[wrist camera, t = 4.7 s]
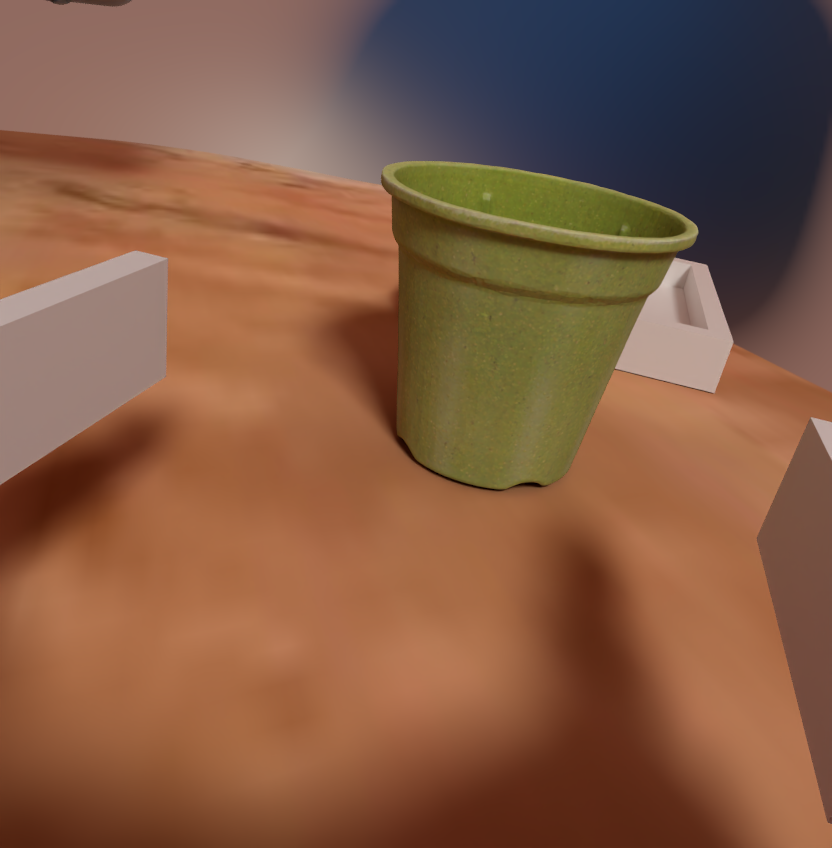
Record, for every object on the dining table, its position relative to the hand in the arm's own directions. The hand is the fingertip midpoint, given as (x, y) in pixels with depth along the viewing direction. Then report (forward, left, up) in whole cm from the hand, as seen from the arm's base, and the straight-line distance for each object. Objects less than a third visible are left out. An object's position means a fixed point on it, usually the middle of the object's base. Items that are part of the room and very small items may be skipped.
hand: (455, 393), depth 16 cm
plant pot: (-7, +7, -6) cm, 11 cm away
